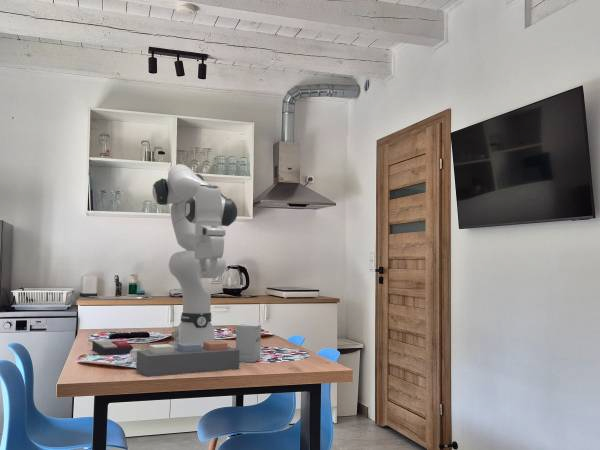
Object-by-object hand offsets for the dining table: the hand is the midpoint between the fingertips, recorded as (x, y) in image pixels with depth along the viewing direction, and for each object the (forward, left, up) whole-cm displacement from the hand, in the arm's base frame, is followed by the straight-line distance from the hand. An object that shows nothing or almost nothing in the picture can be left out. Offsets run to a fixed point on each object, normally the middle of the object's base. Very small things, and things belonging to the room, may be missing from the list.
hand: (207, 272), depth 191 cm
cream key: (+5, -16, -27) cm, 32 cm away
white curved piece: (-17, -19, -32) cm, 41 cm away
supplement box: (-3, +18, -31) cm, 36 cm away
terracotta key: (+5, +2, -27) cm, 28 cm away
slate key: (+5, -7, -27) cm, 29 cm away
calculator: (-43, -20, -32) cm, 57 cm away
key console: (+5, -7, -31) cm, 32 cm away
